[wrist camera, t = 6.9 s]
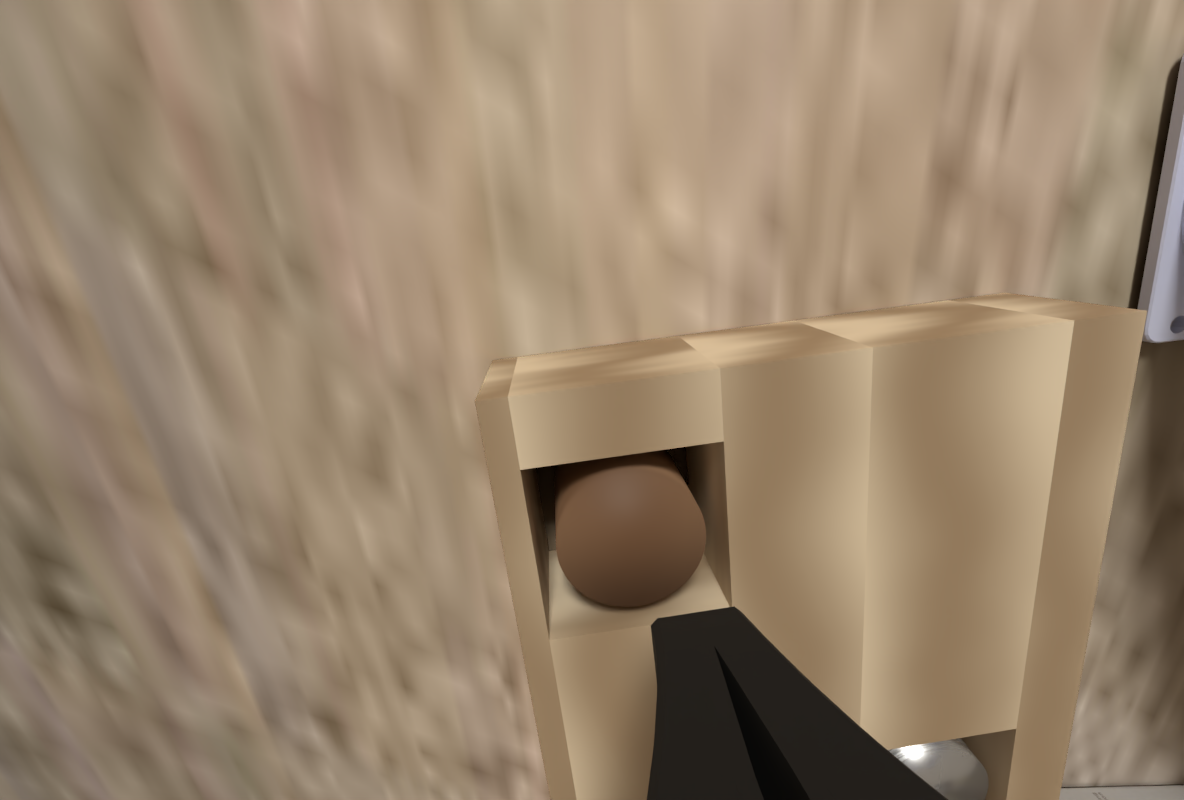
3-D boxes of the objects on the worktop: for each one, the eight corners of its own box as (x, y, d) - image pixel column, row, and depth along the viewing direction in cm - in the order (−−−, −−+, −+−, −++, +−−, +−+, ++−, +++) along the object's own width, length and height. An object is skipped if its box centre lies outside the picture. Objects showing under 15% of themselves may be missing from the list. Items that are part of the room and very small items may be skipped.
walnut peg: (669, 414, 16) (701, 462, 13) (678, 524, 17) (710, 595, 14) (546, 431, 16) (546, 484, 12) (563, 541, 17) (566, 616, 14)
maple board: (1004, 292, 16) (1147, 310, 12) (956, 758, 21) (1045, 872, 18) (492, 360, 15) (474, 401, 12) (574, 822, 21) (579, 955, 17)
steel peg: (916, 652, 19) (994, 741, 16) (910, 732, 20) (982, 830, 17) (816, 668, 19) (873, 761, 16) (815, 747, 20) (869, 850, 17)
